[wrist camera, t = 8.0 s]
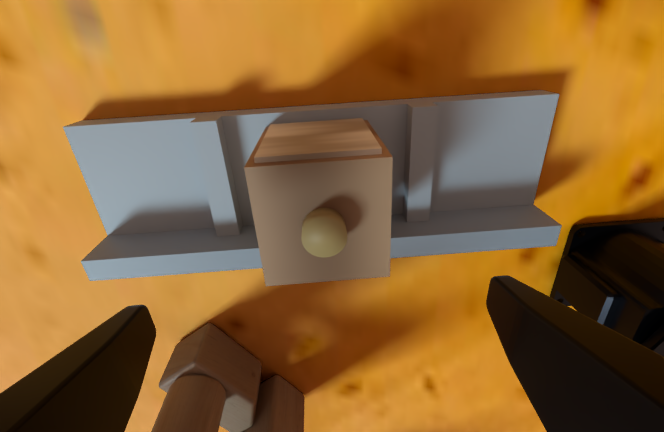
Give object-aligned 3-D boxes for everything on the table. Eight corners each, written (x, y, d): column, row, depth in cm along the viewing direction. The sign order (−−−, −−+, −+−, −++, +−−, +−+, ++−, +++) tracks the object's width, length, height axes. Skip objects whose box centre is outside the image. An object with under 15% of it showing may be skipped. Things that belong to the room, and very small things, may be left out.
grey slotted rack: (541, 89, 18) (597, 101, 15) (515, 211, 21) (555, 245, 18) (81, 120, 18) (23, 140, 14) (127, 240, 21) (90, 281, 17)
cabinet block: (367, 115, 17) (398, 158, 11) (368, 210, 19) (394, 289, 13) (265, 122, 17) (238, 170, 11) (279, 217, 19) (263, 299, 13)
